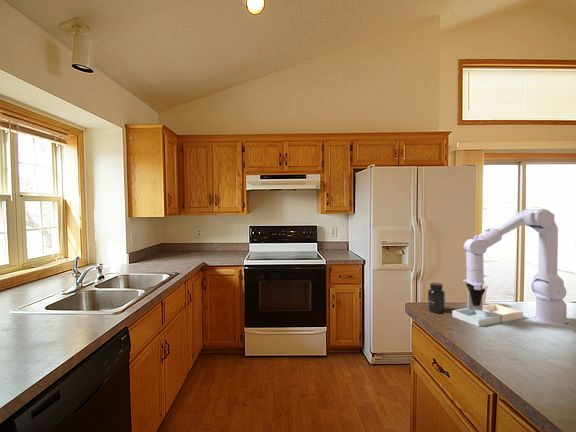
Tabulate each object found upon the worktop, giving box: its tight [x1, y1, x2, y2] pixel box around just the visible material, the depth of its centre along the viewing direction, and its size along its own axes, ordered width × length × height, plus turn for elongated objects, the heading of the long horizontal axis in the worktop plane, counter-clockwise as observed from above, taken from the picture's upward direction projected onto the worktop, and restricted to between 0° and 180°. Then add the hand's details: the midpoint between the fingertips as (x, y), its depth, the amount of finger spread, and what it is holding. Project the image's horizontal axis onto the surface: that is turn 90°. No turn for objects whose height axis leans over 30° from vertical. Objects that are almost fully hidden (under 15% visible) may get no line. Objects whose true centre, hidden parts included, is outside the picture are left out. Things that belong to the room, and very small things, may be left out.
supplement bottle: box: [427, 282, 446, 314], centre depth 127 cm, size 7×7×12 cm
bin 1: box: [451, 307, 502, 327], centre depth 115 cm, size 11×11×3 cm
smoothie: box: [481, 283, 489, 305], centre depth 133 cm, size 6×6×14 cm
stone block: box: [466, 289, 483, 311], centre depth 115 cm, size 4×4×6 cm
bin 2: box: [483, 303, 524, 323], centre depth 119 cm, size 11×11×3 cm
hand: (475, 303), depth 115 cm, fingers closed on stone block, 4 cm apart
